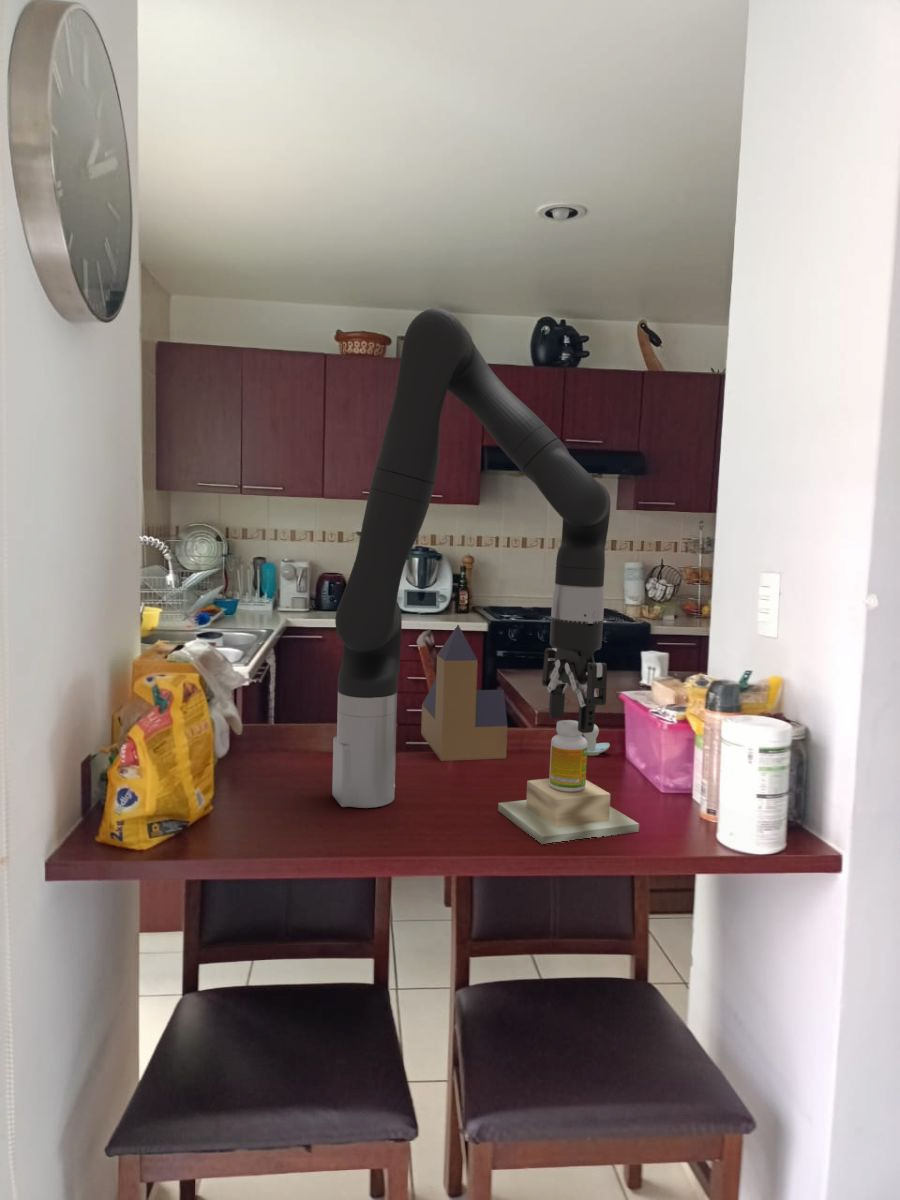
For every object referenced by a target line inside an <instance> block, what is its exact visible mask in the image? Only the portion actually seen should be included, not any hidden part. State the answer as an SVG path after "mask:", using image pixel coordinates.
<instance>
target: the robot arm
mask: <svg viewBox="0 0 900 1200" xmlns="http://www.w3.org/2000/svg"><path fill="white" fill-rule="evenodd" d="M401 349H402V350H401V356H400V361H399V370H398V376H397V383H396V389H395V394H394V399H393V404H392V407H391V411H390V414H389V418H388V420H387V423H386V424H387V425H386V427H385V431H384V436H383V439H382V443H381V446H380V449H379V450H380V451H379V454H378V458H377V461H376V464H375V468H374V471H373V475H372V478H371V482H370V487H369V490H368V491H369V492H368V496H367V501H366V505H365V511H364V514H363V515H364V516H363V520H362V524H361V531H360V537H359V542H358V547H357V552H356V555H355V559H354V563H353V566H352V569H351V572H350V575H349V578H348V580H347V583H346V585H345V589H344V591H343V594H342V596H341V599H340V602H339V603H338V606H337V609H336V613H335V618H334V621H335V624H334V625H335V628H336V634H338V637H339V640H341V642H342V646H343V647H342V648H343V649H342V659H341V665H340V669H339V672H338V676H337V678H338V679H337V715H336V716H337V719H336V720H337V721H336V722H337V723H336V724H337V725H336V727H337V728H336V729H337V730H336V736H333V739H332V740H333V741H332V744H333V746H332V783H331V784H332V786H331V787H332V788H331V789H332V793H331V794H332V796H333V798H334V799H335V800H336V802H337V803H338V804H339V805H340V807H341V808H347V807H349V808H351V807H352V808H359V809H361V808H362V809H368V808H369V809H371V808H372V809H373V808H378V807H384V806H387V805H389V804H391V803H393V802H394V800H395V788H396V754H397V753H396V750H397V749H396V745H397V744H396V743H397V714H398V713H397V712H398V711H397V710H398V681H399V674H400V669H401V654H402V653H401V652H402V651H401V650H402V649H401V648H402V629H403V628H402V627H403V626H402V624H403V623H402V622H403V621H402V620H403V619H402V611H401V610H402V609H401V607H400V605H399V603H398V595H399V591H400V590H399V589H400V585H401V581H402V575H403V571H404V569H405V565H406V562H407V560H408V558H409V555H410V553H411V551H412V549H413V547H414V544H415V542H416V541H417V538H418V536H419V533H420V531H421V528H422V526H423V524H424V521H425V519H426V515H427V514H428V509H429V507H430V503H431V500H432V496H433V492H434V488H435V484H436V481H437V480H436V479H437V476H438V471H439V470H438V468H439V461H440V460H439V458H440V427H441V424H440V423H441V415H442V409H443V405H444V401H445V397H446V395H447V392H450V393H451V394H452V395H453V396H455V397H456V398H457V399H458V400H459V401H461V403H462V404H464V406H466V407H467V408H468V409H469V410H470V412H471V413H473V415H475V417H476V418H477V419H478V421H479V422H480V423H481V424H482V425H483V427H484V428H485V430H486V431H487V432H488V433H489V435H490V436H491V437H492V439H493V440H494V441H495V443H496V444H497V445H498V446H499V448H500V449H501V450H502V452H504V453H505V455H506V456H507V457H508V458H509V459H510V460H511V461H512V462H513V463H514V464H515V466H516V467H517V468H518V469H519V470H520V471H521V472H522V473H523V475H525V476H526V478H528V479H529V480H530V481H531V482H532V483H534V484H535V485H536V487H537V489H538V490H539V492H540V493H541V494H542V495H543V497H544V498H545V499H546V501H547V502H548V503H549V504H550V505H551V507H552V508H553V509H554V510H555V512H557V514H558V515H559V516H560V517H561V518H562V530H561V543H560V546H559V549H558V550H557V554H556V559H555V560H556V562H555V576H554V577H555V579H554V588H553V589H554V590H553V592H552V599H551V611H550V612H551V613H550V614H551V615H550V631H549V645H550V646H551V647H546V648H545V649H544V656H543V666H542V667H543V669H542V678H541V679H542V681H541V684H542V686H543V687H547V692H548V693H549V707H548V716H549V717H550V718H552V719H562V718H563V717H564V715H565V700H566V693H565V691H566V689H567V688H568V686H570V687H571V689H572V692H573V693H574V694H575V695H577V699H578V702H579V705H580V706H578V717H577V718H578V720H577V721H578V731H579V732H581V733H590V732H592V731H593V729H594V724H595V716H596V714H595V713H596V709H597V707H598V706H605V705H606V703H607V685H608V684H607V681H608V680H607V679H608V676H607V675H608V666H607V663H605V662H595V657H594V653H595V652H596V651H599V650H601V648H602V645H603V644H602V642H603V626H604V615H605V613H604V611H605V610H604V609H605V596H604V595H605V594H604V583H605V570H606V561H605V560H606V559H605V558H606V557H605V555H606V554H605V553H606V552H605V550H606V544H607V539H608V538H607V536H608V531H609V524H610V518H611V517H610V516H611V515H610V514H611V496H610V493H609V492H608V490H607V488H606V487H605V486H604V484H602V483H601V482H600V481H598V480H596V479H595V478H594V476H592V475H591V474H590V473H589V472H588V471H587V470H586V469H585V468H584V467H583V466H582V465H581V464H580V463H579V462H578V461H577V460H576V459H575V458H574V457H573V456H572V455H571V454H570V452H569V450H568V448H567V447H566V446H565V444H564V443H563V442H562V440H560V439H559V438H558V436H557V435H556V434H555V433H554V432H553V431H552V430H551V429H550V428H549V427H548V426H547V424H546V423H544V421H543V420H541V418H540V417H539V416H538V415H536V413H535V412H533V410H531V409H530V407H528V406H527V404H525V403H524V402H523V401H522V400H521V399H520V398H519V397H517V396H516V395H515V394H514V393H513V392H512V391H511V390H510V389H509V388H507V386H506V385H505V384H504V383H503V382H502V381H501V379H500V378H499V377H498V376H497V375H496V374H495V373H494V371H493V370H492V369H491V367H490V366H489V365H488V363H487V362H486V360H485V358H484V357H483V355H482V354H481V352H480V351H479V349H478V347H477V346H476V345H475V343H474V341H473V339H472V336H471V334H470V332H469V331H468V330H467V328H466V327H465V326H464V325H463V324H462V322H461V321H460V320H459V318H457V317H456V316H455V315H454V314H452V313H451V312H449V311H448V310H445V309H443V308H438V307H433V308H428V309H425V310H423V311H421V312H420V313H418V314H417V315H416V316H415V317H414V319H412V321H411V322H410V324H409V325H408V327H407V329H406V332H405V334H404V338H403V342H402V348H401ZM597 689H598V694H597V692H596V691H597ZM585 693H586V694H585Z"/></svg>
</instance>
